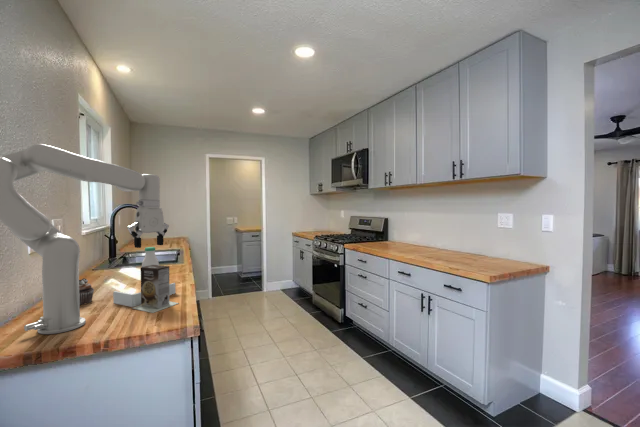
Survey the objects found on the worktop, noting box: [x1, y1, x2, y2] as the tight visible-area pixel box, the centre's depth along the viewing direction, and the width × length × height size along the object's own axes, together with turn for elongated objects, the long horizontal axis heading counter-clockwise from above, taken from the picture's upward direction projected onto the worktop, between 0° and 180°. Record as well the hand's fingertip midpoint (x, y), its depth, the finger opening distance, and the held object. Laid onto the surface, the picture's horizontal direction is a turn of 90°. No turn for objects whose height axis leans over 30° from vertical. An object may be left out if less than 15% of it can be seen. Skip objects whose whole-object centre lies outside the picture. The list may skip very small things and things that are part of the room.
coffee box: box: [140, 264, 170, 309], centre depth 126 cm, size 9×6×16 cm
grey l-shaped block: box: [112, 282, 176, 308], centre depth 137 cm, size 21×12×5 cm, turn 156°
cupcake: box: [79, 277, 95, 305], centre depth 131 cm, size 10×10×10 cm
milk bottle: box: [141, 246, 160, 267], centre depth 156 cm, size 8×8×20 cm
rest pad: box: [131, 300, 180, 314], centre depth 126 cm, size 12×12×1 cm
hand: (149, 246), depth 125 cm, fingers open, 9 cm apart
